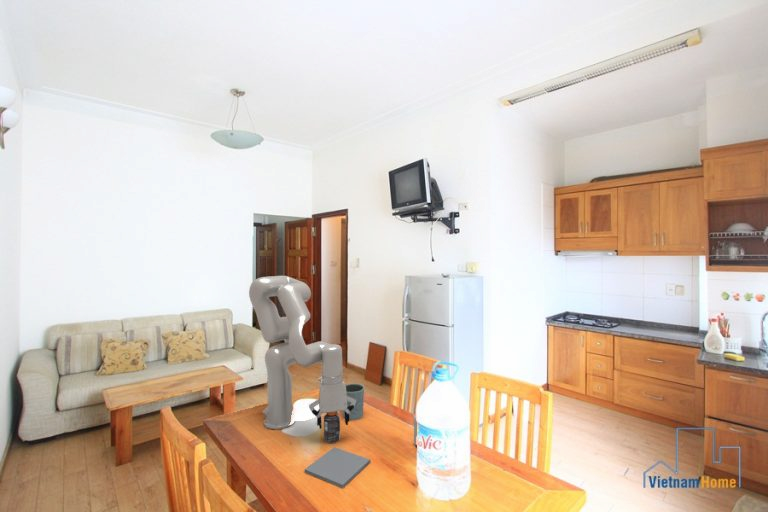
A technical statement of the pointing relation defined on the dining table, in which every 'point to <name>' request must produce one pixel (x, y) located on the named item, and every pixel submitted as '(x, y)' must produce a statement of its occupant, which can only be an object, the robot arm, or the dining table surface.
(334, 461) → the slate mat
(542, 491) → the dining table surface
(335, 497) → the dining table surface
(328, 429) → the pill bottle
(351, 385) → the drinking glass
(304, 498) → the dining table surface
